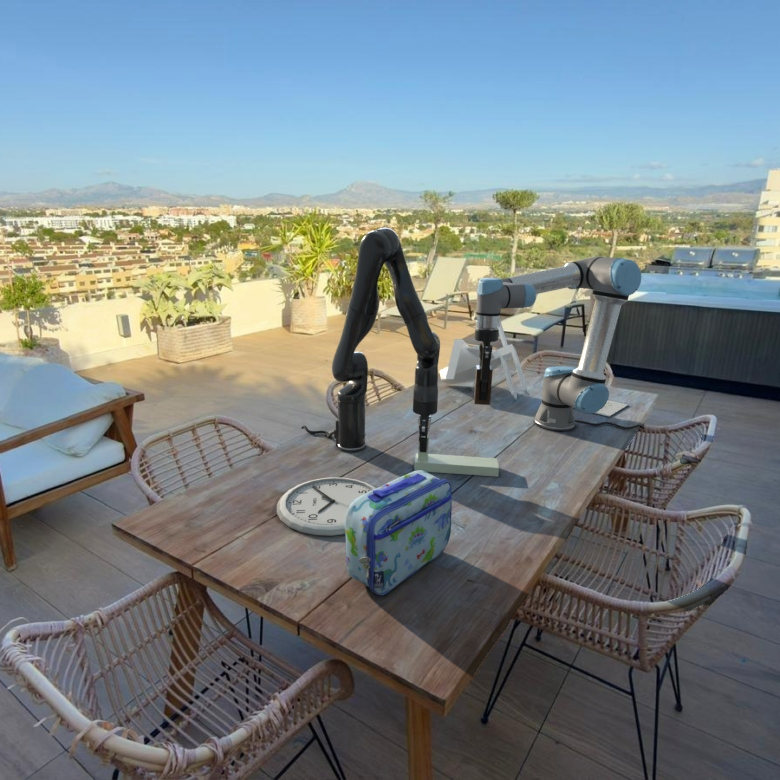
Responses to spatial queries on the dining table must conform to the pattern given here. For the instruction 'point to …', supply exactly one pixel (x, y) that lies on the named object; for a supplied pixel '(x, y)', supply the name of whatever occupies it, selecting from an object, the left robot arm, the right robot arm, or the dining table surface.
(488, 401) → the walnut block
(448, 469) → the pale green l-shaped block
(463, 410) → the dining table surface
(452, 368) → the white plastic object
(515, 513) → the dining table surface
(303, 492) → the wall clock
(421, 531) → the lunch box
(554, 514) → the dining table surface
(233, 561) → the dining table surface
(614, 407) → the invitation card
